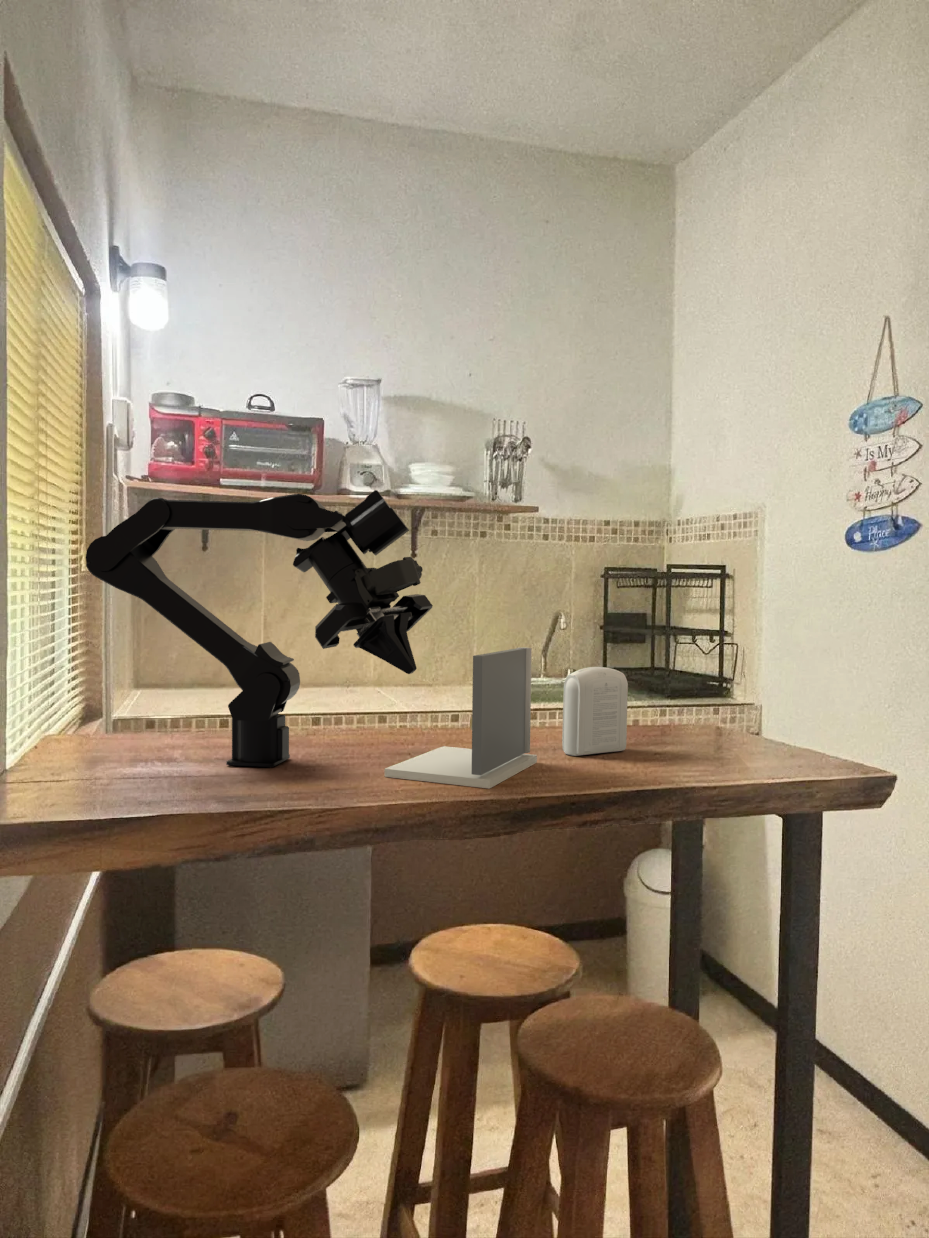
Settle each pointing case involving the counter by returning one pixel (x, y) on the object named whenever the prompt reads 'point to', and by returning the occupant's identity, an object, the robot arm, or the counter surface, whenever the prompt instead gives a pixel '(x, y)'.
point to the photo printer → (594, 711)
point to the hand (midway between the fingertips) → (412, 671)
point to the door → (500, 708)
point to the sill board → (456, 768)
